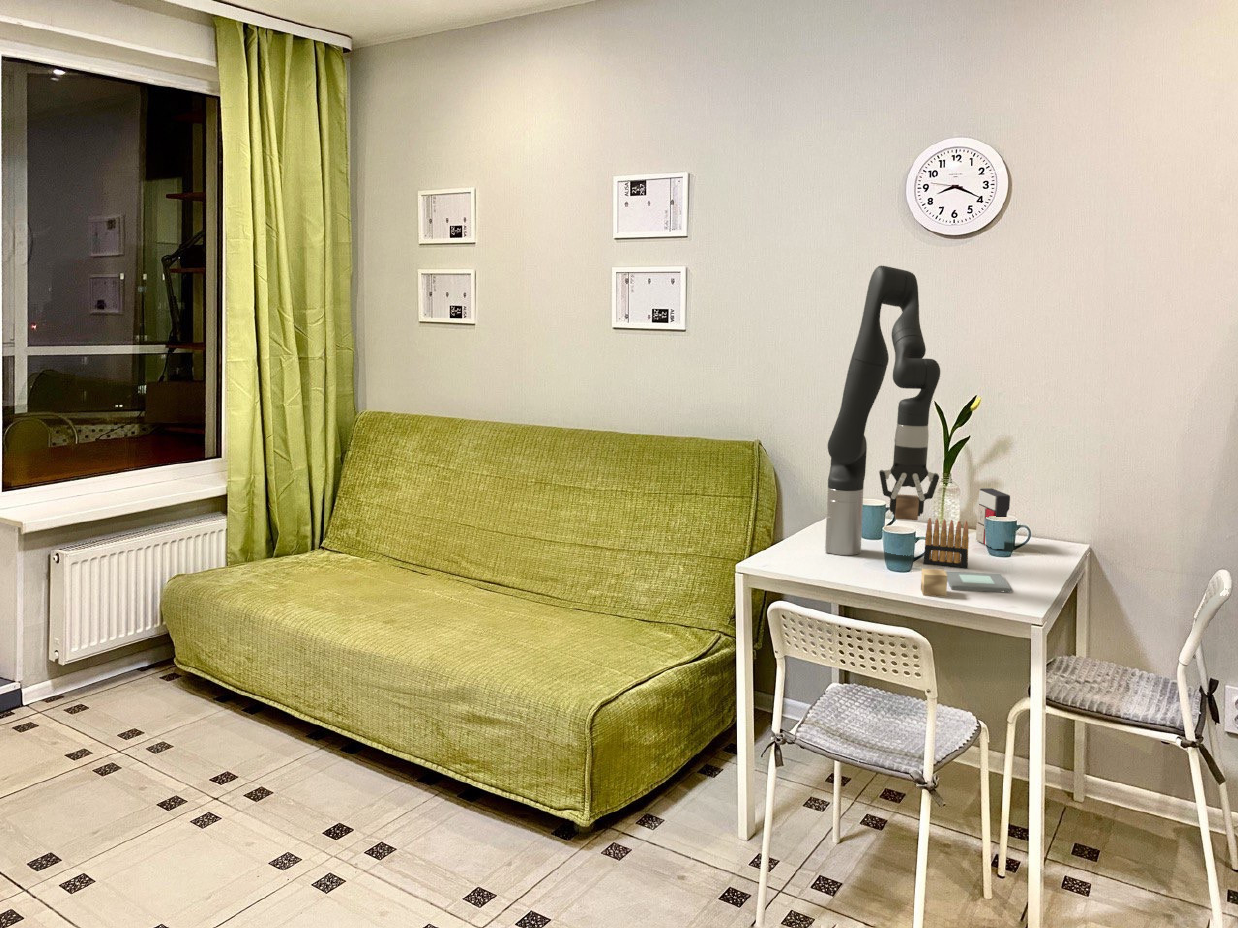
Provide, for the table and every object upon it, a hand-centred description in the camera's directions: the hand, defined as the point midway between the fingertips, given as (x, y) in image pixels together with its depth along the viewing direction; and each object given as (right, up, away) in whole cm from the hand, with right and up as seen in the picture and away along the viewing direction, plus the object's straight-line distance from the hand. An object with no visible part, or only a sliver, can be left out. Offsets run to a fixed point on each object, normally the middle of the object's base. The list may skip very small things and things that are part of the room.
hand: (906, 514), depth 240 cm
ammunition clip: (+15, -14, +16) cm, 26 cm away
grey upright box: (+34, -11, +38) cm, 52 cm away
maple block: (+4, -18, -8) cm, 20 cm away
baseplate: (+17, -16, 0) cm, 23 cm away
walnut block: (0, -1, 0) cm, 1 cm away
